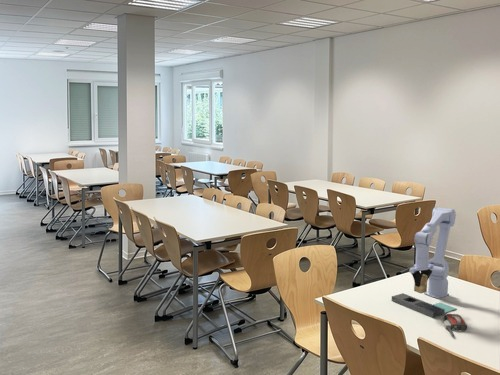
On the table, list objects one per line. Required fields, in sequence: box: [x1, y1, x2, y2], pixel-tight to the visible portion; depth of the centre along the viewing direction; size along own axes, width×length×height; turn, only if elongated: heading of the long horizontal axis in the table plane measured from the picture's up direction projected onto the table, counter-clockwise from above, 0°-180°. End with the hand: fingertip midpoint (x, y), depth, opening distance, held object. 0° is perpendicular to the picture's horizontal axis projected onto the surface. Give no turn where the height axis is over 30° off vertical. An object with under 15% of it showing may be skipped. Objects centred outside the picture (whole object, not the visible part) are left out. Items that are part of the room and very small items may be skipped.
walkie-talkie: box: [443, 313, 468, 337], centre depth 207 cm, size 9×4×20 cm
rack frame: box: [391, 292, 446, 319], centre depth 229 cm, size 8×24×2 cm, turn 32°
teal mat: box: [432, 302, 457, 314], centre depth 228 cm, size 9×9×1 cm
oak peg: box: [413, 274, 428, 294], centre depth 230 cm, size 4×4×8 cm
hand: (420, 285), depth 230 cm, fingers closed on oak peg, 4 cm apart
